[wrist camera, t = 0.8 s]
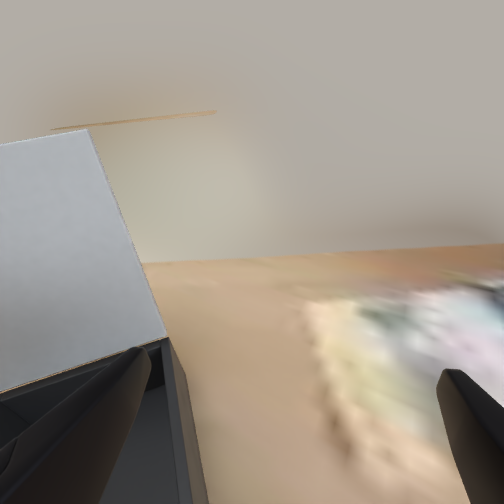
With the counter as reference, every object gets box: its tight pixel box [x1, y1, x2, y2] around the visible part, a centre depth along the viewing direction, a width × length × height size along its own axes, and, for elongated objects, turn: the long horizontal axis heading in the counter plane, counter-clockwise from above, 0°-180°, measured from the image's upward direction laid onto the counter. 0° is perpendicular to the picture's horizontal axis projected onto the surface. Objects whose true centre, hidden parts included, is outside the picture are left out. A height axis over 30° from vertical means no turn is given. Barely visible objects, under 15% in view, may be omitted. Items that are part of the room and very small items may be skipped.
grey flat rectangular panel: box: [0, 129, 167, 392], centre depth 18 cm, size 15×12×1 cm
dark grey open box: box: [0, 337, 209, 504], centre depth 18 cm, size 14×12×6 cm
